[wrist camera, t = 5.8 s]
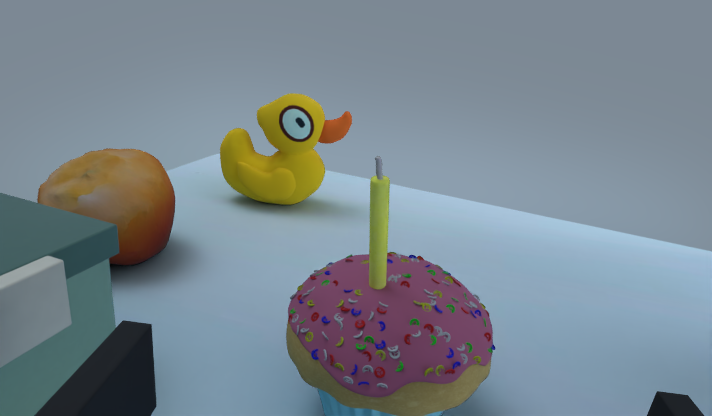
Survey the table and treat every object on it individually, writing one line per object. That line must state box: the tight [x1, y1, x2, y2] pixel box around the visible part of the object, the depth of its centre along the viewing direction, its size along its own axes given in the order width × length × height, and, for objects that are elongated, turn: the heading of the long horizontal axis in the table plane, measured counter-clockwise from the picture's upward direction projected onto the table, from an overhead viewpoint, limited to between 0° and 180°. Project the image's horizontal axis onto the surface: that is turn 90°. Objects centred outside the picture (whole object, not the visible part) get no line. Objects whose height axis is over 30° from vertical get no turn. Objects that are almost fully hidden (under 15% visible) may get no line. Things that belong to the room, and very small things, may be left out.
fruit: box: [38, 149, 175, 265], centre depth 32 cm, size 8×8×8 cm
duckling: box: [220, 94, 352, 205], centre depth 42 cm, size 11×5×10 cm, turn 91°
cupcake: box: [286, 156, 495, 416], centre depth 19 cm, size 9×8×12 cm
